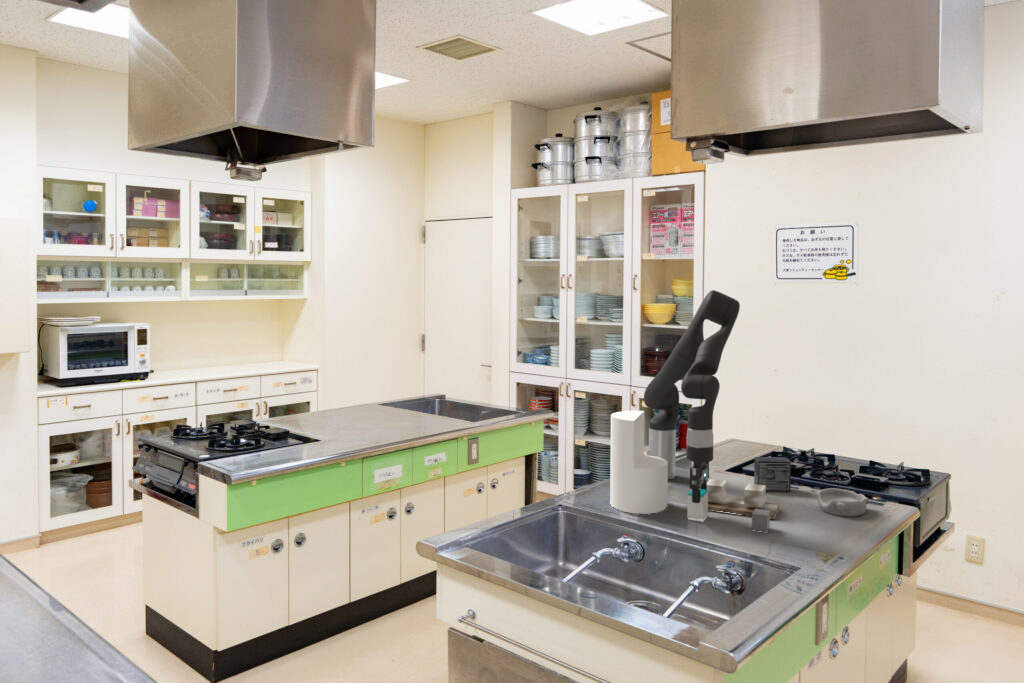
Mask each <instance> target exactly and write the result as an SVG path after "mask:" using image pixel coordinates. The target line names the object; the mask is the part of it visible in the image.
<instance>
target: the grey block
mask: <svg viewBox="0 0 1024 683" xmlns="http://www.w3.org/2000/svg"><path fill="white" fill-rule="evenodd" d="M770 521H771V520H770V511H769V510H761V509H755V510H754V512H753V513H752V517H751V531H752V530H755V531H762V532H767V531H768V532H769V530H770V528H771V524H770V523H771V522H770ZM769 527H770V528H769ZM768 529H769V530H768ZM768 532H767V533H768Z"/></svg>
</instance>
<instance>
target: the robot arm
mask: <svg viewBox="0 0 1024 683" xmlns="http://www.w3.org/2000/svg"><path fill="white" fill-rule="evenodd" d="M740 308H741V306H740V302H739V301H738V300H737V299H736V298H734V297H731V296H729V295H727V294H724V293H723V292H720V291H717V290H714V289H713V290H710V291H709V292H708V293H707V294H706V295H705V296H704V298H703V300H702V301H701V303H700V305H699V307H698V309H697V311H696V313H695V314H694V316H693V318H692V320H691V321H690V323H689V325H688V327H687V328H686V330H685V331H684V333H683V335H681V337H680V339H679V340H678V342H676V345H675V346H674V348H673V350H672V351H671V353H670V355H669V356H668V358H667V359H666V361H665V363H664V364H663V366H661V368H660V370H659V371H658V372H657V374H656V375H655V376H654V378H653V379H651V381H650V382H649V383H648V384H647V386H646V388H645V390H644V393H643V402H644V406H646V408H648V409H650V410H655V411H658V412H657V414H656V415H655V416H653V417H651V418H650V419H649V421H648V449H647V450H646V455H647V456H654V457H659V458H662V459H664V460H666V461H667V462H668V477H667V480H673V479H675V478H676V452H677V451H676V449H677V447H676V444H677V443H676V442H677V439H676V438H677V435H676V434H677V428H676V427H677V423H678V420H679V407H680V392H679V389H678V387H677V385H676V384H677V383H678V382H679V381H680V380H682V381H681V386H680V389H681V393H682V395H683V396H684V397H685V398H686V399H691V400H704V404H703V405H698V406H692V407H690V408H689V409H688V411H687V430H686V459H687V460H688V461H690V462H692V463H693V466H691V467H690V468H689V488H688V489H690V490H691V489H692V502H693V503H700V489H706V490H707V482H708V481H709V480H710V462H712V461H713V460H714V431H713V430H714V429H713V426H714V423H713V422H714V421H713V420H714V419H713V417H714V410H715V405H716V401H717V399H718V395H719V391H720V387H721V385H720V382H719V379H718V378H717V377H716V376H715V375H716V374H717V372H718V370H719V367H720V363H721V358H722V355H723V352H724V349H725V347H726V344H727V342H728V339H729V338H730V335H731V333H732V330H733V328H734V326H735V323H736V321H737V319H738V316H739V313H740ZM706 320H707V321H710V322H713V323H715V324H717V325H719V326H721V327H720V328H719V329H718V331H716V332H714V334H711V335H709V337H706V339H705V336H704V322H705V321H706ZM695 483H696V484H695Z"/></svg>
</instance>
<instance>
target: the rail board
mask: <svg viewBox="0 0 1024 683" xmlns="http://www.w3.org/2000/svg"><path fill="white" fill-rule="evenodd" d="M706 483H707V490H708V510H714V511H723V512H730V513H736V514H741V515H748V516H752V513H753V512H754V510H755V509H761V510H769V511H770V519H774V520H775V518H776V516H777V514H778V512H779V510H780V505H781V504H780V503H776V502H769V501H766V497H767V496H766V493H767V492H766V485H758V484H754V483H748V484H747V485H746V486H745V488H744V489H743V491H744V492H743V493H744V494H743V496H744V497H743V498H738V497H737V498H736V497H730V496H729V497H728V496H727V495H728V494H727V492H728V488H727V487H728V486H727V485H728V484H727V483H728V481H727V480H724V479H713V478H709V479H708V482H706ZM775 515H776V516H775ZM748 516H747V517H748ZM774 517H775V518H774Z"/></svg>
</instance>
